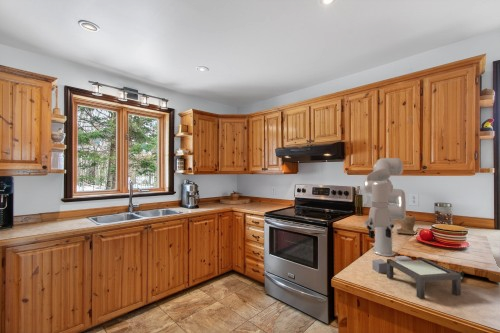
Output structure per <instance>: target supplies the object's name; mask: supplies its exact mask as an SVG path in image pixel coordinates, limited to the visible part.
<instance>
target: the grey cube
mask: <svg viewBox="0 0 500 333" xmlns="http://www.w3.org/2000/svg"><path fill="white" fill-rule="evenodd" d="M372 270H373V271H375V272H376V273H378V274H385V273H386V274H387V261H384V260H383V259H372Z"/></svg>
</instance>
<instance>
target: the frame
mask: <svg viewBox="0 0 500 333" xmlns="http://www.w3.org/2000/svg"><path fill="white" fill-rule="evenodd" d="M417 260H421V261H423V262H425V263H428V264H430V265H432V266H434V267H436V268H438V269H440V270H442V271H445V272H447V273H441V274H427V275H420V274H418V273H416V272H414V271H412V270H410V269H408V268H406V267H405V266H403V265H401V264H399V263H397V261H395V260H393V259H391V258H387V259H386V263H387V273H386V278H387V279H389V280H394V268H395V269H396V270H398V271H399V272H401V273H403V274H405V275H407V276H408V277H410V278H412V279H414V280H416V285H415V286H416V292H415V294H416V295H415V296H416V298H418V299H420V300H424V299H425V298H426V293H425V292H426V291H425V290H426V283H428V282H429V283H430V282H441V281H442V282H443V281H451V287H452V288H451V294H453V295H454V296H457V297H458V296H461V295H462V286H461V285H462V280H461V274H459V273H456V272H454V271H452V270H450V269H447V268H445V267H443V266H440V265H438V264H436V263H437V262H433V261H431V260H429V259H427V258H424V257H423V256H419V257H417Z"/></svg>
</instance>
